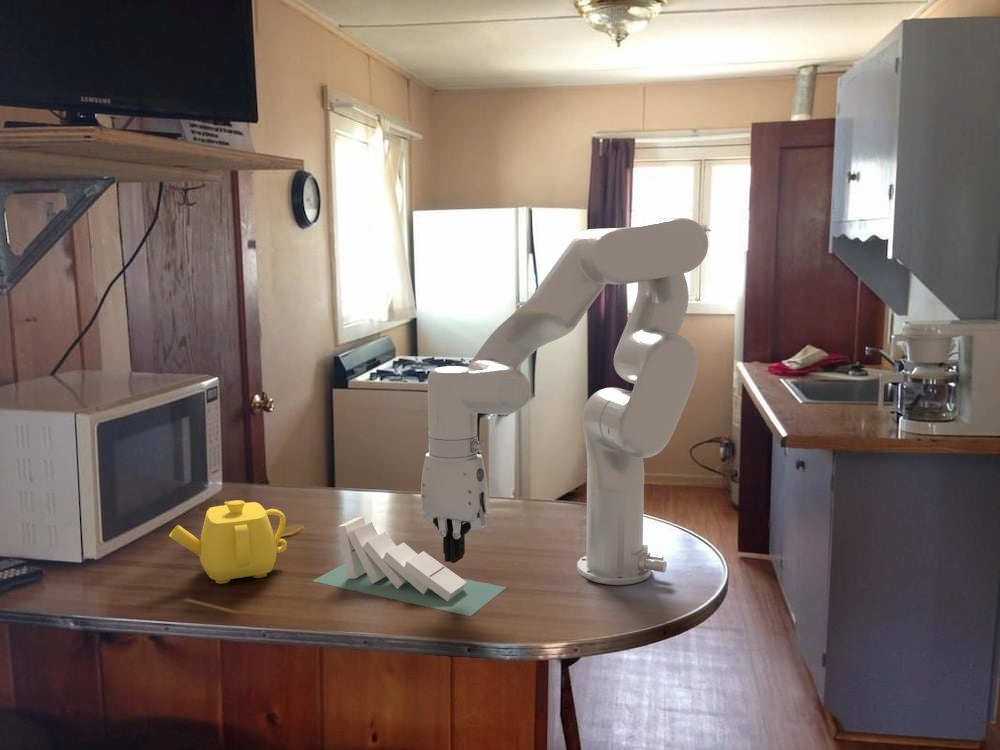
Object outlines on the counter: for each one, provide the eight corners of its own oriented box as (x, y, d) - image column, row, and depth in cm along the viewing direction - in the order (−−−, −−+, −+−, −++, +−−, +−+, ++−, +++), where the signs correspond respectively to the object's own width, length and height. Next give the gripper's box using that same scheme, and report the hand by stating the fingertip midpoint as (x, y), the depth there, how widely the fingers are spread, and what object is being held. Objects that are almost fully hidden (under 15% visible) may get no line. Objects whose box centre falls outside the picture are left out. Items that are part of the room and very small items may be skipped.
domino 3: (419, 572, 142) (384, 531, 144) (402, 583, 138) (367, 541, 140) (414, 578, 143) (379, 537, 145) (397, 589, 138) (362, 547, 140)
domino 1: (373, 568, 146) (363, 517, 146) (355, 578, 142) (345, 525, 141) (365, 568, 147) (355, 517, 147) (347, 578, 143) (337, 526, 142)
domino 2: (396, 569, 144) (371, 522, 145) (379, 580, 140) (353, 531, 141) (389, 573, 145) (365, 525, 146) (372, 583, 141) (347, 534, 141)
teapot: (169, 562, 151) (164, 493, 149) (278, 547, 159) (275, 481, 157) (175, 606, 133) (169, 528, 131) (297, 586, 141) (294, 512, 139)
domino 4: (444, 576, 140) (403, 542, 143) (427, 587, 135) (386, 551, 138) (439, 583, 140) (399, 549, 143) (423, 594, 136) (382, 559, 139)
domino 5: (467, 582, 137) (423, 550, 140) (451, 593, 133) (406, 561, 136) (463, 590, 138) (420, 558, 141) (447, 601, 133) (403, 569, 137)
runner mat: (506, 589, 139) (506, 587, 139) (470, 618, 128) (470, 616, 128) (355, 559, 152) (355, 557, 152) (312, 583, 142) (312, 581, 142)
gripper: (506, 446, 132) (507, 559, 135) (424, 436, 139) (426, 544, 142) (484, 457, 126) (484, 576, 129) (398, 446, 133) (401, 559, 135)
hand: (454, 559), depth 135 cm, fingers closed
